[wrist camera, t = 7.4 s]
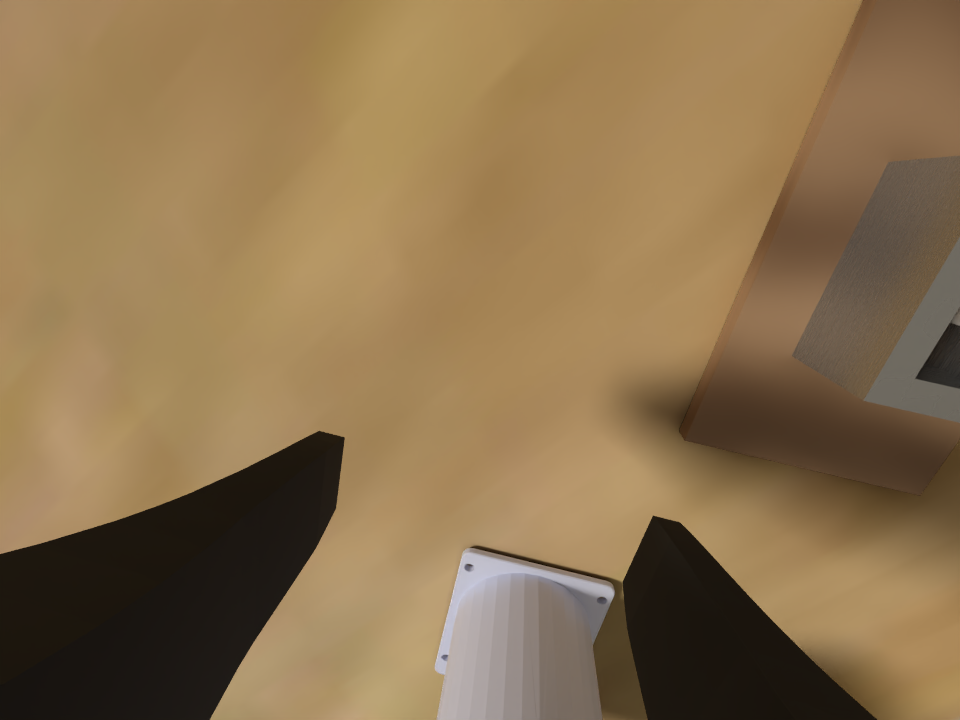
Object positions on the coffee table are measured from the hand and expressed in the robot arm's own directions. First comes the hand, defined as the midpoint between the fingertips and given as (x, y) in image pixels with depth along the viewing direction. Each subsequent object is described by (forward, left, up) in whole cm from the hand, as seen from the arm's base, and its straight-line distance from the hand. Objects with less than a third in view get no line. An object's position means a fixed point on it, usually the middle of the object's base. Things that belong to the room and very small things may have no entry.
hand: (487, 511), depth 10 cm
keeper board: (+7, -13, -10) cm, 18 cm away
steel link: (+7, -13, -9) cm, 17 cm away
